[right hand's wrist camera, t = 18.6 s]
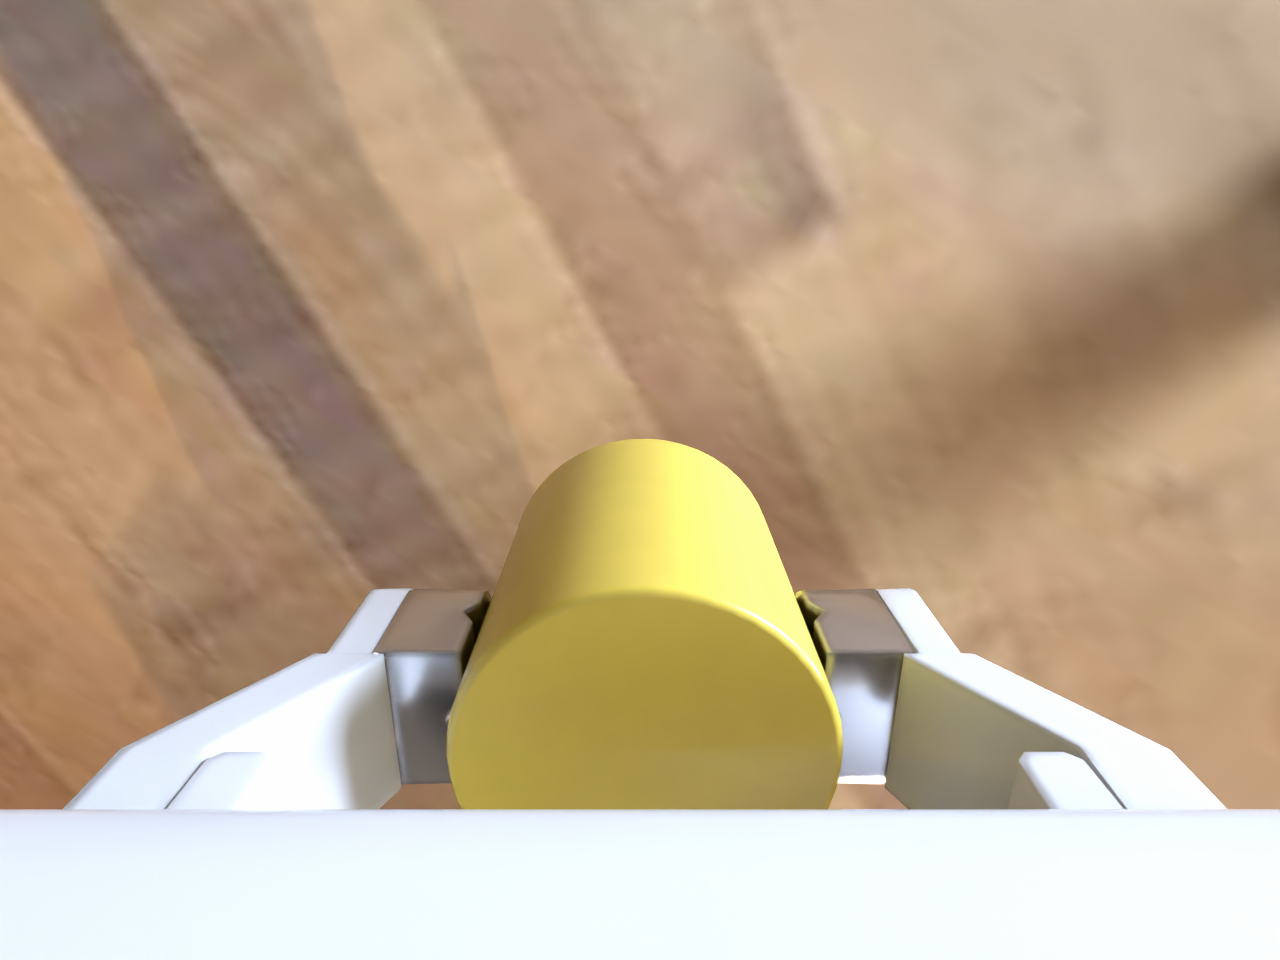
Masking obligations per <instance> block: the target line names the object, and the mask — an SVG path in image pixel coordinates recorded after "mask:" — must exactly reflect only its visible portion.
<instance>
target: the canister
mask: <svg viewBox="0 0 1280 960" xmlns="http://www.w3.org/2000/svg"><path fill="white" fill-rule="evenodd" d="M842 754H843V734H842V724H841V719H840V715H839V711H838V707H837V703H836V700H835V697H834V695H833V692H832V690H831V687H830V685H829V682H828V679H827V677H826V674H825V672H824V669H823V667H822V664H821V662H820V659H819V656H818V654H817V651H816V649H815V646H814V644H813V641H812V639H811V636H810V634H809V631H808V628H807V626H806V623H805V621H804V618H803V616H802V613H801V611H800V608H799V605H798V603H797V600H796V598H795V595H794V593H793V590H792V588H791V585H790V583H789V580H788V577H787V575H786V572H785V570H784V567H783V565H782V562H781V560H780V557H779V554H778V552H777V549H776V547H775V544H774V542H773V539H772V537H771V534H770V532H769V529H768V526H767V524H766V521H765V519H764V516H763V514H762V512H761V510H760V507H759V505H758V503H757V502H756V500H755V498H754V497H753V495H752V494H751V492H750V490H749V489H748V488H747V487H746V486H745V485H744V483H743V482H742V481H741V480H740V479H739V478H738V477H737V476H736V475H735V474H734V473H733V472H732V471H731V470H730V469H728V468H727V467H726V466H725V465H723V464H722V463H720V462H719V461H717V460H716V459H714V458H713V457H711V456H709V455H707V454H705V453H703V452H701V451H699V450H697V449H694V448H691V447H688V446H685V445H683V444H679V443H674V442H669V441H665V440H654V439H629V440H623V441H617V442H611V443H608V444H604V445H601V446H598V447H594V448H592V449H590V450H588V451H585V452H583V453H581V454H579V455H577V456H575V457H574V458H572V459H570V460H569V461H567V462H566V463H564V464H563V465H562V466H560V467H559V468H558V469H557V470H555V471H554V472H553V473H552V474H551V475H550V476H549V477H548V478H547V479H546V480H545V481H544V482H543V483H542V484H541V485H540V487H539V488H538V489H537V491H536V492H535V494H534V495H533V496H532V498H531V499H530V501H529V503H528V505H527V507H526V509H525V511H524V513H523V516H522V519H521V521H520V524H519V527H518V529H517V532H516V535H515V538H514V540H513V543H512V546H511V548H510V551H509V554H508V556H507V559H506V562H505V565H504V567H503V570H502V573H501V575H500V578H499V581H498V584H497V586H496V589H495V592H494V594H493V597H492V600H491V602H490V605H489V608H488V611H487V613H486V616H485V619H484V621H483V624H482V627H481V629H480V632H479V635H478V638H477V640H476V643H475V646H474V648H473V651H472V654H471V657H470V659H469V662H468V665H467V667H466V670H465V673H464V675H463V678H462V681H461V684H460V686H459V689H458V692H457V695H456V697H455V700H454V703H453V706H452V709H451V712H450V717H449V723H448V729H447V761H448V768H449V774H450V779H451V782H452V785H453V788H454V791H455V794H456V798H457V801H458V803H459V805H460V807H461V809H828V808H829V805H830V803H831V800H832V798H833V795H834V793H835V790H836V787H837V783H838V778H839V774H840V770H841V765H842Z"/></svg>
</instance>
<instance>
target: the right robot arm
mask: <svg viewBox="0 0 1280 960" xmlns="http://www.w3.org/2000/svg"><path fill="white" fill-rule="evenodd" d="M795 598H796V600H797V603H798V605H799V608H800V611H801V613H802V616H803V618H804V621H805V623H806V626H807V628H808V631H809V634H810V636H811V639H812V641H813V644H814V646H815V649H816V651H817V654H818V656H819V659H820V662H821V664H822V667H823V669H824V672H825V674H826V677H827V679H828V682H829V685H830V687H831V690H832V692H833V695H834V697H835V700H836V703H837V707H838V711H839V715H840V719H841V724H842V734H843V754H842V765H841V770H840V774H839V778H838V783H856V784H885V788H886V789H887V790H888V791H889V792H890V793H891V794H893V795H894V796H895V797H896V798H897V799H898V800H899V801H900V802H901V803H902V804H903V805H905V806H906V807H907V808H908V809H379V808H380V807H382V806H383V805H384V804H385V803H386V802H387V801H388V800H389V799H390V798H391V797H392V796H394V795H395V794H396V793H397V792H398V791H399V790H400V789H401V788H402V786H401V784H430V783H452V782H451V779H450V774H449V768H448V761H447V729H448V723H449V717H450V712H451V709H452V706H453V703H454V700H455V697H456V695H457V692H458V689H459V686H460V684H461V681H462V678H463V675H464V673H465V670H466V667H467V665H468V662H469V659H470V657H471V654H472V651H473V648H474V646H475V643H476V640H477V638H478V635H479V632H480V629H481V627H482V624H483V621H484V619H485V616H486V613H487V611H488V608H489V605H490V602H491V597H490V594H489V591H488V590H436V589H414V590H412V589H411V588H400V589H375V590H371V591H370V592H369V593H368V595H367V596H366V598H365V599H364V600H363V602H362V603H361V605H360V606H359V607H358V609H357V610H356V612H355V613H354V615H353V616H352V617H351V619H350V620H349V622H348V623H347V625H346V626H345V627H344V629H343V630H342V632H341V633H340V635H339V636H338V637H337V639H336V640H335V642H334V643H333V645H332V646H331V647H330V649H329V650H328V652H327V653H326V654H312V655H310V656H308V657H306V658H304V659H302V660H300V661H298V662H296V663H294V664H292V665H290V666H288V667H286V668H284V669H282V670H280V671H278V672H276V673H274V674H272V675H270V676H268V677H266V678H264V679H262V680H259V681H257V682H255V683H253V684H251V685H249V686H247V687H245V688H243V689H241V690H239V691H237V692H235V693H233V694H231V695H229V696H227V697H225V698H223V699H221V700H219V701H217V702H215V703H213V704H211V705H209V706H207V707H205V708H202V709H200V710H198V711H196V712H194V713H192V714H190V715H188V716H186V717H184V718H182V719H180V720H178V721H176V722H174V723H172V724H170V725H168V726H166V727H164V728H162V729H160V730H158V731H156V732H154V733H152V734H150V735H148V736H145V737H143V738H141V739H139V740H137V741H135V742H133V743H131V744H129V745H127V746H125V747H123V748H121V749H120V750H119V751H118V752H117V753H116V754H115V755H114V756H113V757H112V758H111V759H110V760H109V761H108V762H107V763H106V764H105V766H104V767H103V768H102V769H101V770H100V771H99V772H98V773H97V774H96V775H95V776H94V777H93V778H92V779H91V780H90V781H89V782H88V783H87V784H86V785H85V786H84V788H83V789H82V790H81V791H80V792H79V793H78V794H77V795H76V796H75V797H74V798H73V799H72V800H71V801H70V802H69V803H68V804H67V805H66V806H65V807H64V808H63V809H0V960H1280V809H1227V808H1226V807H1225V806H1224V805H1223V804H1222V803H1221V802H1220V801H1219V800H1218V799H1217V798H1216V797H1215V796H1214V795H1213V794H1212V793H1211V792H1210V791H1209V790H1208V789H1207V788H1206V787H1205V786H1204V785H1203V784H1202V782H1201V781H1200V780H1199V779H1198V778H1197V777H1196V776H1195V775H1194V774H1193V773H1192V772H1191V771H1190V770H1189V769H1188V768H1187V767H1186V766H1185V765H1184V764H1183V763H1182V762H1181V761H1180V760H1179V759H1178V758H1177V757H1176V756H1175V754H1174V753H1173V752H1172V751H1171V750H1169V749H1167V748H1165V747H1163V746H1161V745H1159V744H1157V743H1155V742H1153V741H1151V740H1149V739H1147V738H1145V737H1143V736H1141V735H1139V734H1137V733H1134V732H1132V731H1130V730H1128V729H1126V728H1124V727H1122V726H1120V725H1118V724H1116V723H1114V722H1112V721H1110V720H1108V719H1106V718H1104V717H1102V716H1100V715H1098V714H1096V713H1094V712H1091V711H1089V710H1087V709H1085V708H1083V707H1081V706H1079V705H1077V704H1075V703H1073V702H1071V701H1069V700H1067V699H1065V698H1063V697H1061V696H1059V695H1057V694H1055V693H1053V692H1051V691H1048V690H1046V689H1044V688H1042V687H1040V686H1038V685H1036V684H1034V683H1032V682H1030V681H1028V680H1026V679H1024V678H1022V677H1020V676H1018V675H1016V674H1014V673H1012V672H1010V671H1008V670H1005V669H1003V668H1001V667H999V666H997V665H995V664H993V663H991V662H989V661H987V660H985V659H983V658H981V657H979V656H977V655H975V654H961V653H960V652H959V650H958V649H957V647H956V646H955V645H954V643H953V642H952V641H951V639H950V638H949V636H948V635H947V634H946V632H945V631H944V630H943V628H942V627H941V625H940V624H939V623H938V621H937V620H936V618H935V617H934V616H933V614H932V613H931V612H930V610H929V609H928V607H927V606H926V605H925V603H924V602H923V601H922V599H921V598H920V596H919V595H918V594H917V592H916V591H915V590H912V589H910V588H900V589H878V590H876V589H848V590H805V591H799V592H796V596H795Z"/></svg>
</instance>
